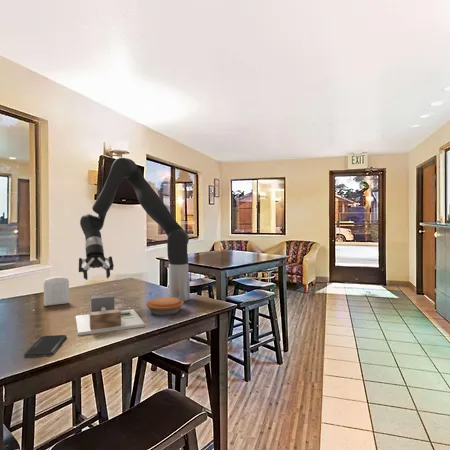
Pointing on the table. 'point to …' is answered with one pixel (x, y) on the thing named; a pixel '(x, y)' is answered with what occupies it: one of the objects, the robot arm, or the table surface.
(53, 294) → the photo printer
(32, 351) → the phone
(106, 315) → the brown wooden block
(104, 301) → the gauge carriage
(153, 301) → the pie
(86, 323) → the base
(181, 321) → the table surface
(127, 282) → the table surface
